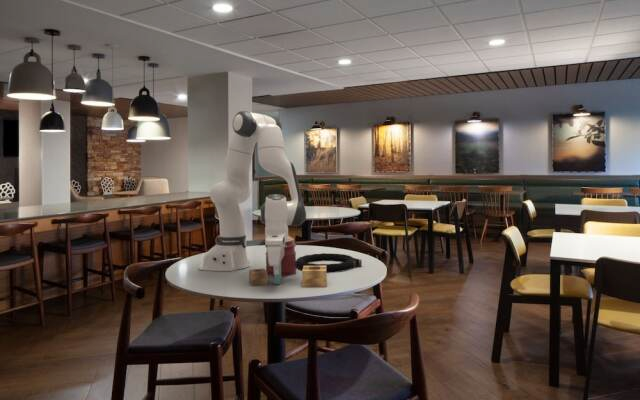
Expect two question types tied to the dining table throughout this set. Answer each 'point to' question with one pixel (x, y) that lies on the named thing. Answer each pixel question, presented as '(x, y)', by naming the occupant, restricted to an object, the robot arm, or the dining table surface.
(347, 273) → the dining table surface
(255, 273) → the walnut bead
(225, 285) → the dining table surface
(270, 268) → the canister
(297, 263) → the cable lock
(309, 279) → the wooden square frame
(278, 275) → the teal peg
